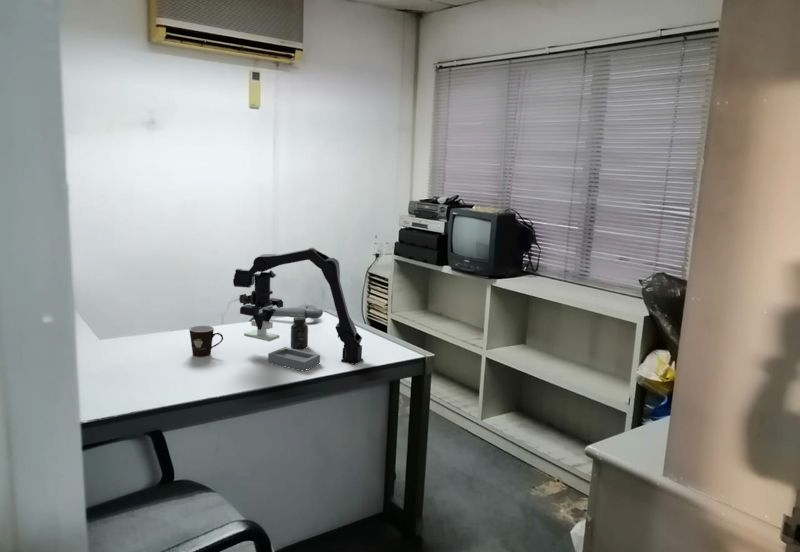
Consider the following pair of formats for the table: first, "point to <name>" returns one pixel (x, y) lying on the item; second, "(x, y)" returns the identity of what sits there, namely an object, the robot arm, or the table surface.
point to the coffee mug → (202, 340)
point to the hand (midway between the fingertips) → (261, 328)
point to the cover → (262, 332)
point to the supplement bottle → (299, 333)
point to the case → (294, 358)
